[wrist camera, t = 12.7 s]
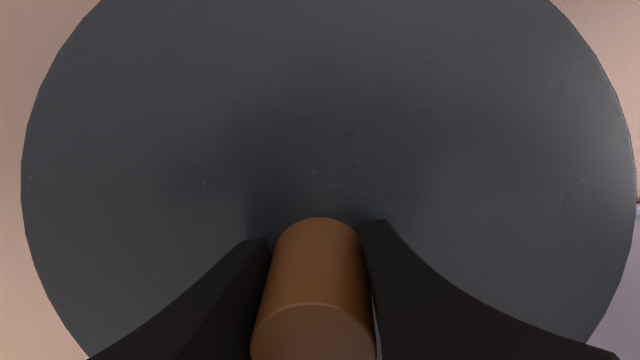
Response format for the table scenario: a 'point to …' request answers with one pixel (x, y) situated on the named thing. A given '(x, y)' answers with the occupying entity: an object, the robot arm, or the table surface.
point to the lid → (326, 162)
